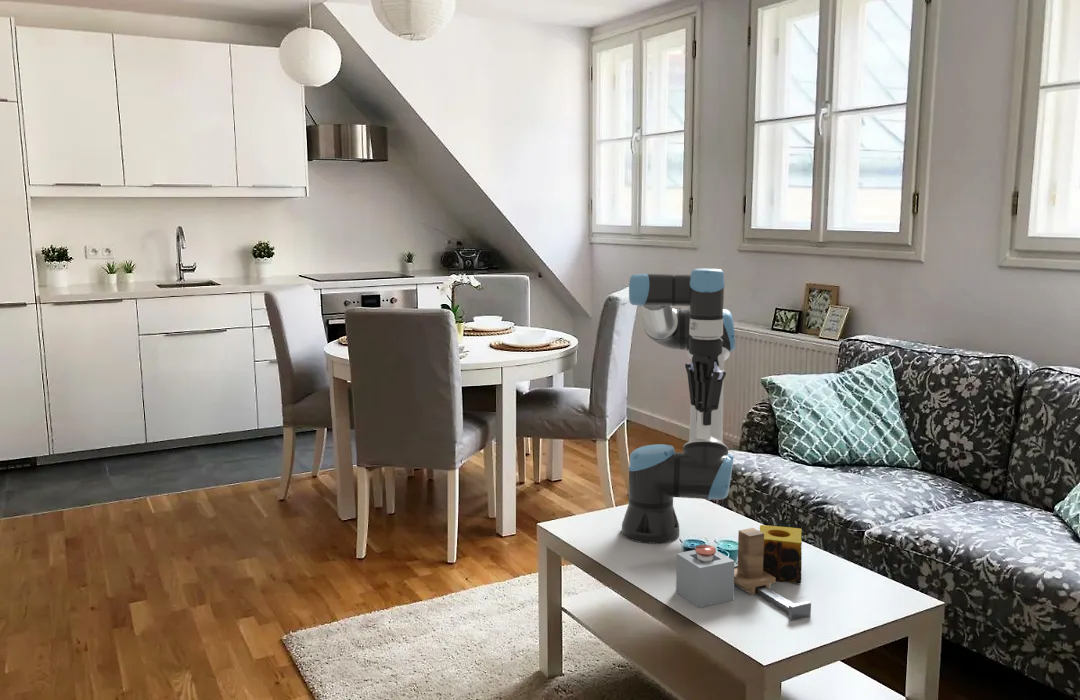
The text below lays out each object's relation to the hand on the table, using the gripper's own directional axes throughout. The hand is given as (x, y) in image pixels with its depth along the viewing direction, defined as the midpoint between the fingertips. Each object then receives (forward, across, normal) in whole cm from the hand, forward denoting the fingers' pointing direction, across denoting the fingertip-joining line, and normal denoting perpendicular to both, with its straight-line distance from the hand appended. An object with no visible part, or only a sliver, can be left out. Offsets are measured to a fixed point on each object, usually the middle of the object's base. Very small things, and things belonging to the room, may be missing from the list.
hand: (703, 437), depth 206 cm
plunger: (+25, +12, -7) cm, 29 cm away
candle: (+33, +9, +16) cm, 37 cm away
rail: (+32, +18, +5) cm, 37 cm away
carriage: (+32, +12, +5) cm, 35 cm away
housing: (+32, +12, -7) cm, 35 cm away
